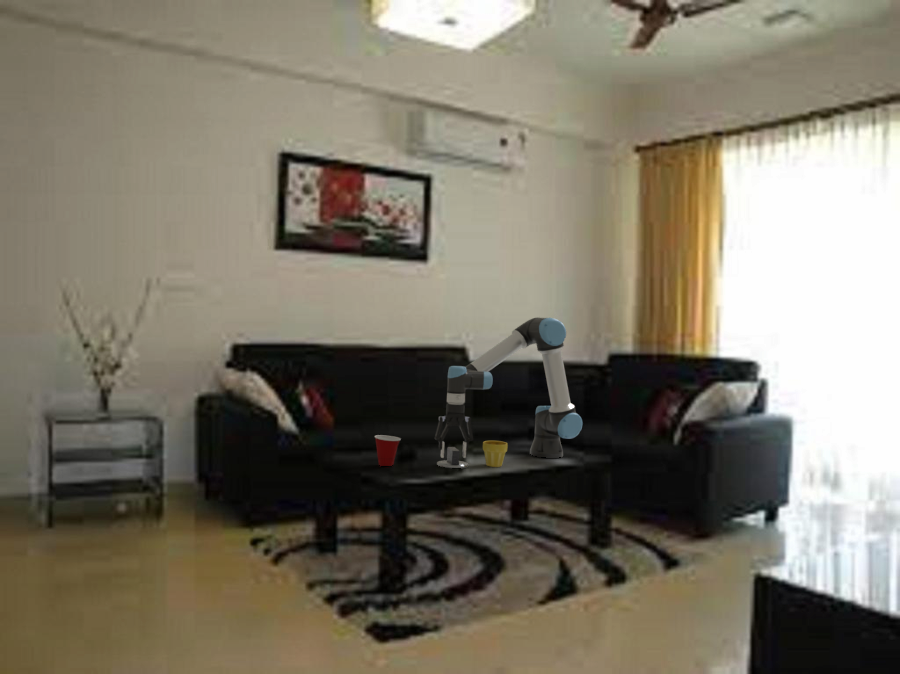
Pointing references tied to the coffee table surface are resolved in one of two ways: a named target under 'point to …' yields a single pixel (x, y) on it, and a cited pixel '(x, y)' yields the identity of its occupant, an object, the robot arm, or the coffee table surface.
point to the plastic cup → (386, 449)
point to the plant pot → (494, 452)
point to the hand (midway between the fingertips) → (453, 457)
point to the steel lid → (452, 459)
